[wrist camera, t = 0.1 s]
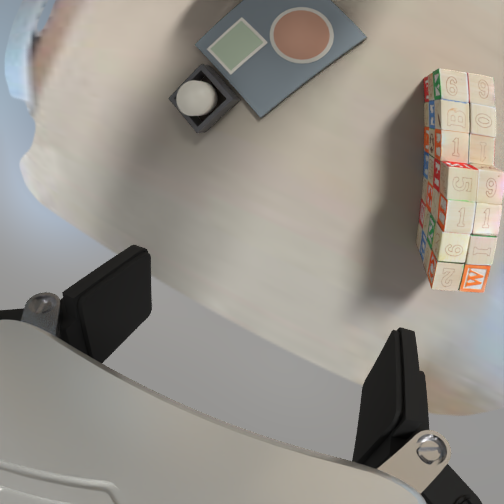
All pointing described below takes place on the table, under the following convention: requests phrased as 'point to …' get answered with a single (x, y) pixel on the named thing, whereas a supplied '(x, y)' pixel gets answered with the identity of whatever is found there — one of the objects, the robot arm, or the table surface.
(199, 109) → the button
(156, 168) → the table surface
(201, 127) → the button housing
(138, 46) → the table surface
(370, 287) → the table surface
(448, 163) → the stack of blocks
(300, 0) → the picture board
